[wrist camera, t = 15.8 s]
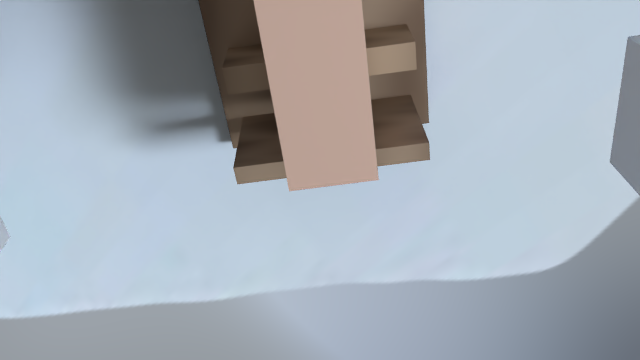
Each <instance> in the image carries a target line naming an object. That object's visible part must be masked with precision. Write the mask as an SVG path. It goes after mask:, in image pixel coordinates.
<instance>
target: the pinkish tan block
mask: <svg viewBox="0 0 640 360" xmlns="http://www.w3.org/2000/svg"><path fill="white" fill-rule="evenodd" d="M254 6H255V11H256V16H257V22H258V27H259V32H260V38H261V43H262V48H263V54H264V59H265V64H266V70H267V75H268V80H269V86H270V91H271V96H272V102H273V107H274V112H275V118H276V123H277V128H278V134H279V139H280V144H281V150H282V155H283V160H284V166H285V171H286V176H287V182H288V187H289V191H294V190H302V189H310V188H318V187H326V186H334V185H342V184H350V183H358V182H366V181H374V180H379V179H378V169H377V158H376V148H375V137H374V126H373V116H372V105H371V95H370V84H369V73H368V63H367V52H366V41H365V31H364V20H363V10H362V0H254Z"/></svg>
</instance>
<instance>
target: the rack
mask: <svg viewBox="0 0 640 360" xmlns="http://www.w3.org/2000/svg"><path fill="white" fill-rule="evenodd" d="M198 1H199V5H200V9H201V14H202V18H203V22H204V26H205V30H206V35H207V39H208V43H209V47H210V52H211V56H212V60H213V64H214V69H215V73H216V77H217V81H218V86H219V90H220V94H221V98H222V103H223V107H224V111H225V115H226V120H227V124H228V128H229V132H230V137H231V141H232V145H233V148H237V151H236V157H235V162H234V167H233V168H234V172H235V176H236V181H237V184H243V183H251V182H259V181H267V180H274V179H282V178H287V176H286V171H285V166H284V160H283V155H282V150H281V144H280V139H279V134H278V128H277V123H276V118H275V112H274V107H273V102H272V96H271V91H270V86H269V80H268V75H267V70H266V64H265V59H264V54H263V48H262V43H261V38H260V32H259V27H258V22H257V16H256V11H255V6H254V0H198ZM362 10H363V20H364V31H365V41H366V52H367V63H368V73H369V84H370V95H371V105H372V116H373V126H374V137H375V148H376V158H377V166H384V165H392V164H400V163H408V162H416V161H423V160H430V152H429V141H428V138H427V136H426V133H425V131H424V128H423V125H422V124H424V123H429V115H428V91H427V67H426V43H425V19H424V0H362Z"/></svg>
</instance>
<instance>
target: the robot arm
mask: <svg viewBox="0 0 640 360" xmlns="http://www.w3.org/2000/svg"><path fill="white" fill-rule="evenodd" d="M610 163H611V164H612V165H613V166H614V167H615V168H616V170H617V171H618V172H619V173H620V174H621V175H622V176H623V177H624V178H625V180H626V181H627V182H628V183H629V184H630V185H631V186H632V187H633V189H634V190H635V191H636V192H637V193H638V194H639V195H640V35H638V36H630V37H628V40H627V47H626V53H625V60H624V67H623V74H622V81H621V88H620V95H619V102H618V109H617V116H616V123H615V130H614V136H613V143H612V150H611V157H610ZM9 238H10V235H9V233H8V231H7V229H6V227H5V225H4V223H3V221H2V219H1V217H0V252H1V250H2V249H3V247H4V246H5V244H6V243H7V241H8V240H9Z"/></svg>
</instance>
